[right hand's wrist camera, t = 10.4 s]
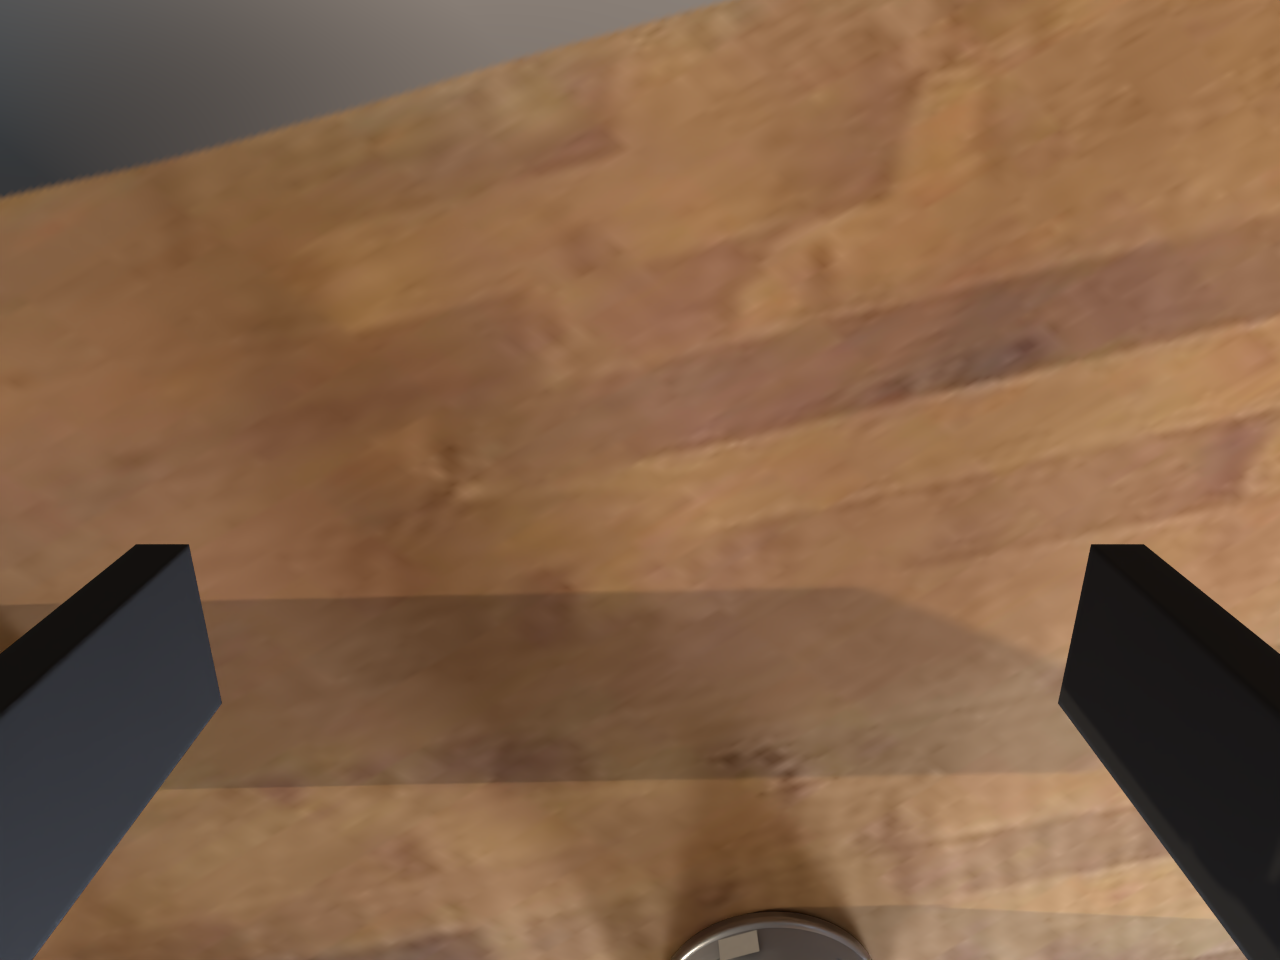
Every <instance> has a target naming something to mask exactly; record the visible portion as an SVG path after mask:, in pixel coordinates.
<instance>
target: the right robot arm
mask: <svg viewBox="0 0 1280 960" xmlns="http://www.w3.org/2000/svg"><path fill="white" fill-rule="evenodd" d="M221 704H222V701H221V696H220V692H219V687H218V682H217V677H216V673H215V668H214V663H213V658H212V653H211V649H210V644H209V639H208V634H207V629H206V625H205V620H204V615H203V610H202V605H201V601H200V596H199V591H198V586H197V581H196V577H195V572H194V567H193V562H192V557H191V553H190V548H189V544H136V545H135V546H134V547H132V548H131V549H130V550H129V551H127V552H126V553H125V554H124V555H122V556H121V557H120V558H119V559H117V560H116V561H115V562H114V563H113V564H111V565H110V566H109V567H108V568H106V569H105V570H104V571H103V572H101V573H100V574H99V575H98V576H96V577H95V578H94V579H93V580H91V581H90V582H89V583H88V584H86V585H85V586H84V587H83V588H82V589H80V590H79V591H78V592H77V593H75V594H74V595H73V596H72V597H70V598H69V599H68V600H67V601H65V602H64V603H63V604H62V605H60V606H59V607H58V608H57V609H55V610H54V611H53V612H52V613H51V614H49V615H48V616H47V617H46V618H44V619H43V620H42V621H41V622H39V623H38V624H37V625H36V626H34V627H33V628H32V629H31V630H29V631H28V632H27V633H26V634H24V635H23V636H22V637H21V638H20V639H18V640H17V641H16V642H15V643H13V644H12V645H11V646H10V647H8V648H7V649H6V650H5V651H3V652H2V653H1V654H0V960H32V959H33V958H34V957H35V955H36V954H37V953H38V951H39V950H40V949H41V947H42V946H43V944H44V943H45V942H46V940H47V939H48V938H49V936H50V935H51V934H52V932H53V931H54V930H55V928H56V927H57V926H58V924H59V923H60V921H61V920H62V919H63V917H64V916H65V915H66V913H67V912H68V911H69V909H70V908H71V907H72V905H73V904H74V903H75V901H76V900H77V898H78V897H79V896H80V894H81V893H82V892H83V890H84V889H85V888H86V886H87V885H88V884H89V882H90V881H91V880H92V878H93V877H94V875H95V874H96V873H97V871H98V870H99V869H100V867H101V866H102V865H103V863H104V862H105V861H106V859H107V858H108V857H109V855H110V854H111V853H112V851H113V850H114V848H115V847H116V846H117V844H118V843H119V842H120V840H121V839H122V838H123V836H124V835H125V834H126V832H127V831H128V830H129V828H130V827H131V825H132V824H133V823H134V821H135V820H136V819H137V817H138V816H139V815H140V813H141V812H142V811H143V809H144V808H145V807H146V805H147V804H148V802H149V801H150V800H151V798H152V797H153V796H154V794H155V793H156V792H157V790H158V789H159V788H160V786H161V785H162V784H163V782H164V781H165V780H166V778H167V777H168V775H169V774H170V773H171V771H172V770H173V769H174V767H175V766H176V765H177V763H178V762H179V761H180V759H181V758H182V757H183V755H184V754H185V752H186V751H187V750H188V748H189V747H190V746H191V744H192V743H193V742H194V740H195V739H196V738H197V736H198V735H199V734H200V732H201V731H202V729H203V728H204V727H205V725H206V724H207V723H208V721H209V720H210V719H211V717H212V716H213V715H214V713H215V712H216V711H217V709H218V708H219V707H220V705H221ZM1058 704H1059V705H1060V707H1061V708H1062V709H1063V711H1064V712H1065V713H1066V715H1067V716H1068V717H1069V719H1070V720H1071V721H1072V723H1073V724H1074V725H1075V727H1076V728H1077V729H1078V731H1079V732H1080V734H1081V735H1082V736H1083V738H1084V739H1085V740H1086V742H1087V743H1088V744H1089V746H1090V747H1091V748H1092V750H1093V751H1094V752H1095V754H1096V755H1097V757H1098V758H1099V759H1100V761H1101V762H1102V763H1103V765H1104V766H1105V767H1106V769H1107V770H1108V771H1109V773H1110V774H1111V775H1112V777H1113V778H1114V780H1115V781H1116V782H1117V784H1118V785H1119V786H1120V788H1121V789H1122V790H1123V792H1124V793H1125V794H1126V796H1127V797H1128V798H1129V800H1130V801H1131V802H1132V804H1133V805H1134V807H1135V808H1136V809H1137V811H1138V812H1139V813H1140V815H1141V816H1142V817H1143V819H1144V820H1145V821H1146V823H1147V824H1148V825H1149V827H1150V828H1151V830H1152V831H1153V832H1154V834H1155V835H1156V836H1157V838H1158V839H1159V840H1160V842H1161V843H1162V844H1163V846H1164V847H1165V848H1166V850H1167V851H1168V853H1169V854H1170V855H1171V857H1172V858H1173V859H1174V861H1175V862H1176V863H1177V865H1178V866H1179V867H1180V869H1181V870H1182V871H1183V873H1184V874H1185V876H1186V877H1187V878H1188V880H1189V881H1190V882H1191V884H1192V885H1193V886H1194V888H1195V889H1196V890H1197V892H1198V893H1199V894H1200V896H1201V897H1202V898H1203V900H1204V901H1205V903H1206V904H1207V905H1208V907H1209V908H1210V909H1211V911H1212V912H1213V913H1214V915H1215V916H1216V917H1217V919H1218V920H1219V921H1220V923H1221V924H1222V926H1223V927H1224V928H1225V930H1226V931H1227V932H1228V934H1229V935H1230V936H1231V938H1232V939H1233V940H1234V942H1235V943H1236V944H1237V946H1238V947H1239V949H1240V950H1241V951H1242V953H1243V954H1244V955H1245V957H1246V958H1247V959H1248V960H1280V654H1279V653H1278V652H1277V651H1275V650H1274V649H1273V648H1272V647H1270V646H1269V645H1268V644H1267V643H1265V642H1264V641H1263V640H1262V639H1260V638H1259V637H1258V636H1257V635H1256V634H1254V633H1253V632H1252V631H1251V630H1249V629H1248V628H1247V627H1246V626H1244V625H1243V624H1242V623H1241V622H1239V621H1238V620H1237V619H1236V618H1234V617H1233V616H1232V615H1231V614H1229V613H1228V612H1227V611H1226V610H1225V609H1223V608H1222V607H1221V606H1220V605H1218V604H1217V603H1216V602H1215V601H1213V600H1212V599H1211V598H1210V597H1208V596H1207V595H1206V594H1205V593H1203V592H1202V591H1201V590H1200V589H1198V588H1197V587H1196V586H1195V585H1194V584H1192V583H1191V582H1190V581H1189V580H1187V579H1186V578H1185V577H1184V576H1182V575H1181V574H1180V573H1179V572H1177V571H1176V570H1175V569H1174V568H1172V567H1171V566H1170V565H1169V564H1167V563H1166V562H1165V561H1164V560H1163V559H1161V558H1160V557H1159V556H1158V555H1156V554H1155V553H1154V552H1153V551H1151V550H1150V549H1149V548H1148V547H1146V546H1145V545H1144V544H1091V548H1090V553H1089V557H1088V562H1087V567H1086V572H1085V577H1084V581H1083V586H1082V591H1081V596H1080V601H1079V605H1078V610H1077V615H1076V620H1075V625H1074V629H1073V634H1072V639H1071V644H1070V649H1069V653H1068V658H1067V663H1066V668H1065V672H1064V677H1063V682H1062V687H1061V692H1060V696H1059V701H1058ZM671 960H872V959H871V957H870V956H869V954H868V952H867V951H866V950H865V948H864V947H863V946H862V945H861V944H860V943H859V942H858V941H857V940H856V939H855V938H854V937H853V936H852V935H850V934H849V933H847V932H846V931H844V930H843V929H841V928H840V927H838V926H836V925H834V924H832V923H830V922H827V921H825V920H822V919H819V918H816V917H813V916H808V915H804V914H798V913H792V912H758V913H751V914H745V915H740V916H736V917H733V918H729V919H726V920H724V921H721V922H718V923H716V924H714V925H712V926H710V927H707V928H706V929H704V930H702V931H701V932H699V933H697V934H696V935H694V936H693V937H692V938H690V939H689V940H688V941H687V942H686V943H684V944H683V945H682V946H681V947H680V948H679V949H678V950H677V952H676V953H675V954H674V955H673V957H672V958H671Z"/></svg>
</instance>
